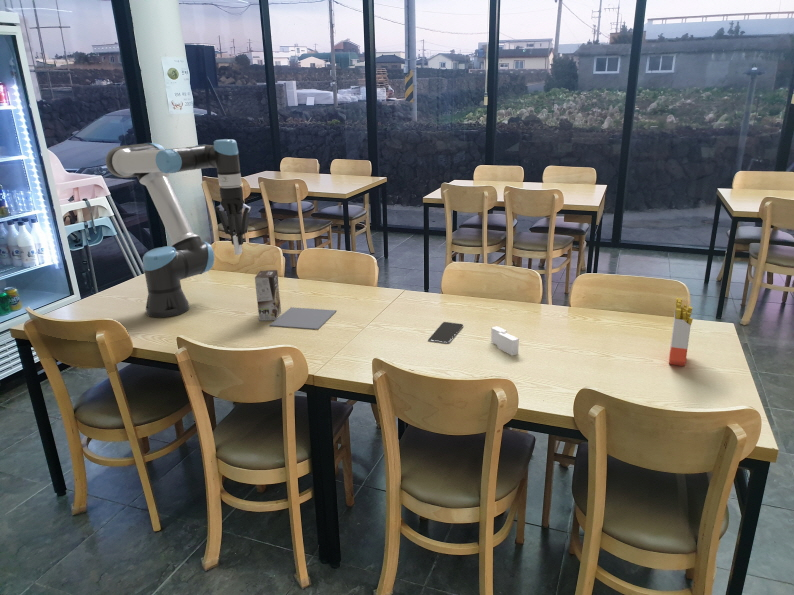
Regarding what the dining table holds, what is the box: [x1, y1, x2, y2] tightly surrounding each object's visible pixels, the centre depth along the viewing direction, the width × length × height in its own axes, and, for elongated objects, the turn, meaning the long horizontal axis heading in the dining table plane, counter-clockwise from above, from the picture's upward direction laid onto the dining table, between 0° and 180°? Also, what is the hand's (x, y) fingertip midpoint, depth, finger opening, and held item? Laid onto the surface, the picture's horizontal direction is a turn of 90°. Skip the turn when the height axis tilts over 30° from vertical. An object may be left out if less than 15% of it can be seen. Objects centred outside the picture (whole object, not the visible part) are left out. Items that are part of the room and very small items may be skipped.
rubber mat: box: [269, 306, 337, 330], centre depth 217 cm, size 18×18×1 cm
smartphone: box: [427, 321, 464, 345], centre depth 200 cm, size 7×1×16 cm
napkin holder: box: [490, 325, 520, 356], centre depth 188 cm, size 15×11×6 cm
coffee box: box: [254, 269, 282, 321], centre depth 218 cm, size 9×6×16 cm
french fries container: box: [668, 297, 694, 367], centre depth 173 cm, size 5×11×18 cm, turn 156°
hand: (238, 253), depth 215 cm, fingers closed
